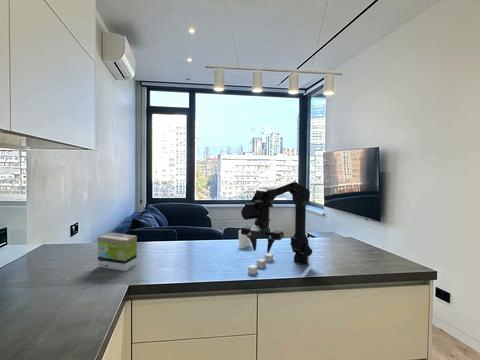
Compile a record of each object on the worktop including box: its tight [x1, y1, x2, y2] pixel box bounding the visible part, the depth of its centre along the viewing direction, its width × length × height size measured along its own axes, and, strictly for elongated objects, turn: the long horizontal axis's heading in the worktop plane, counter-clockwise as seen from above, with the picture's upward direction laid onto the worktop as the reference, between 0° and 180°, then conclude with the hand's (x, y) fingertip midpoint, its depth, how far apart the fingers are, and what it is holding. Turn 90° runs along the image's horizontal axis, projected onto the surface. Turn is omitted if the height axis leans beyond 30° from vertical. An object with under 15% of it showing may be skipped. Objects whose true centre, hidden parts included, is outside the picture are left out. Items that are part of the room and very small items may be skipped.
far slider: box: [264, 252, 274, 263], centre depth 163 cm, size 3×4×3 cm
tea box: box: [97, 232, 138, 272], centre depth 151 cm, size 15×10×15 cm, turn 76°
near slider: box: [247, 264, 259, 276], centre depth 145 cm, size 3×4×3 cm
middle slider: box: [256, 258, 267, 269], centre depth 154 cm, size 3×4×3 cm
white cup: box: [238, 229, 252, 249], centre depth 189 cm, size 8×8×10 cm
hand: (261, 251), depth 143 cm, fingers open, 6 cm apart
